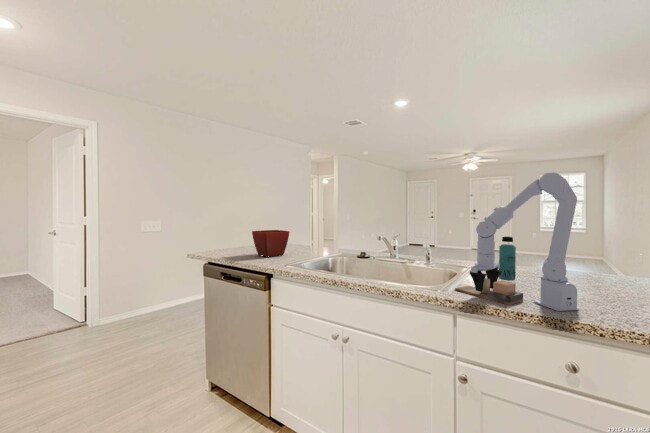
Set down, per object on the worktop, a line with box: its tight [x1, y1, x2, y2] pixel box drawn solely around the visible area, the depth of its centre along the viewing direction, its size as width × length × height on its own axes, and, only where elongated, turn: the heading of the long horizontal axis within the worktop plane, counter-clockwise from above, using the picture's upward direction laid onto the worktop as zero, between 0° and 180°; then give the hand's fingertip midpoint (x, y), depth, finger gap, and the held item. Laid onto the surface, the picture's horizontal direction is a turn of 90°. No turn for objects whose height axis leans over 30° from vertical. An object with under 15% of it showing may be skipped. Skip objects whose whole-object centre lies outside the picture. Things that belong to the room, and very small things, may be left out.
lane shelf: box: [454, 284, 524, 306], centre depth 114 cm, size 21×8×3 cm, turn 30°
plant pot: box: [251, 229, 290, 258], centre depth 209 cm, size 19×19×17 cm
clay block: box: [482, 277, 517, 295], centre depth 111 cm, size 11×5×5 cm, turn 30°
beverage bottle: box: [498, 236, 517, 282], centre depth 133 cm, size 6×7×20 cm
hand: (485, 289), depth 115 cm, fingers open, 7 cm apart
